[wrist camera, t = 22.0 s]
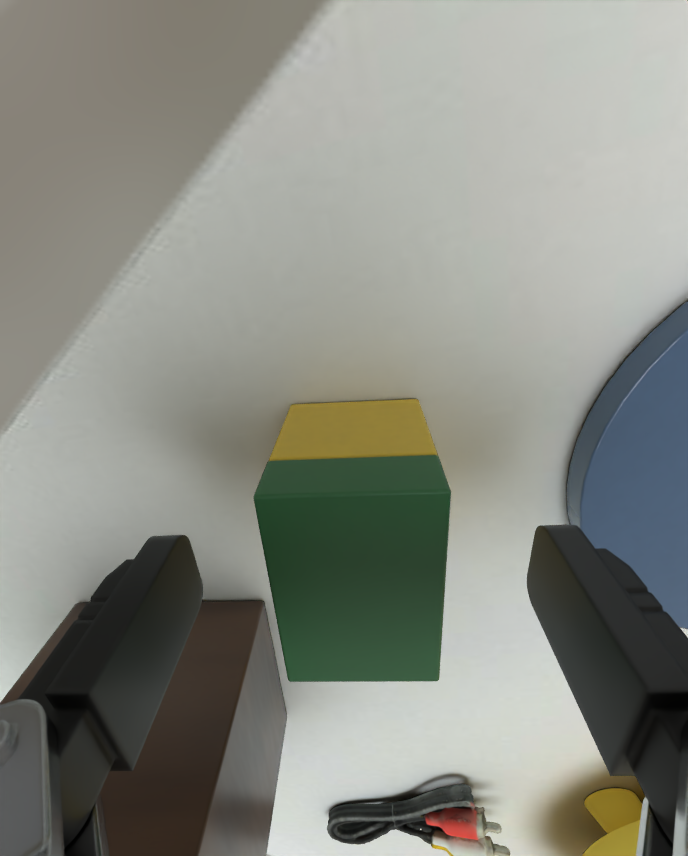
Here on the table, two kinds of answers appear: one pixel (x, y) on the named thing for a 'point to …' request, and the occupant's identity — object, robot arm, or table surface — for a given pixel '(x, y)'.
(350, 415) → the sponge
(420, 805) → the composite cable
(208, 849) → the tall dark wooden block
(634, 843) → the teapot
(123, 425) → the table surface
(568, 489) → the plate
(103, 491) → the table surface
